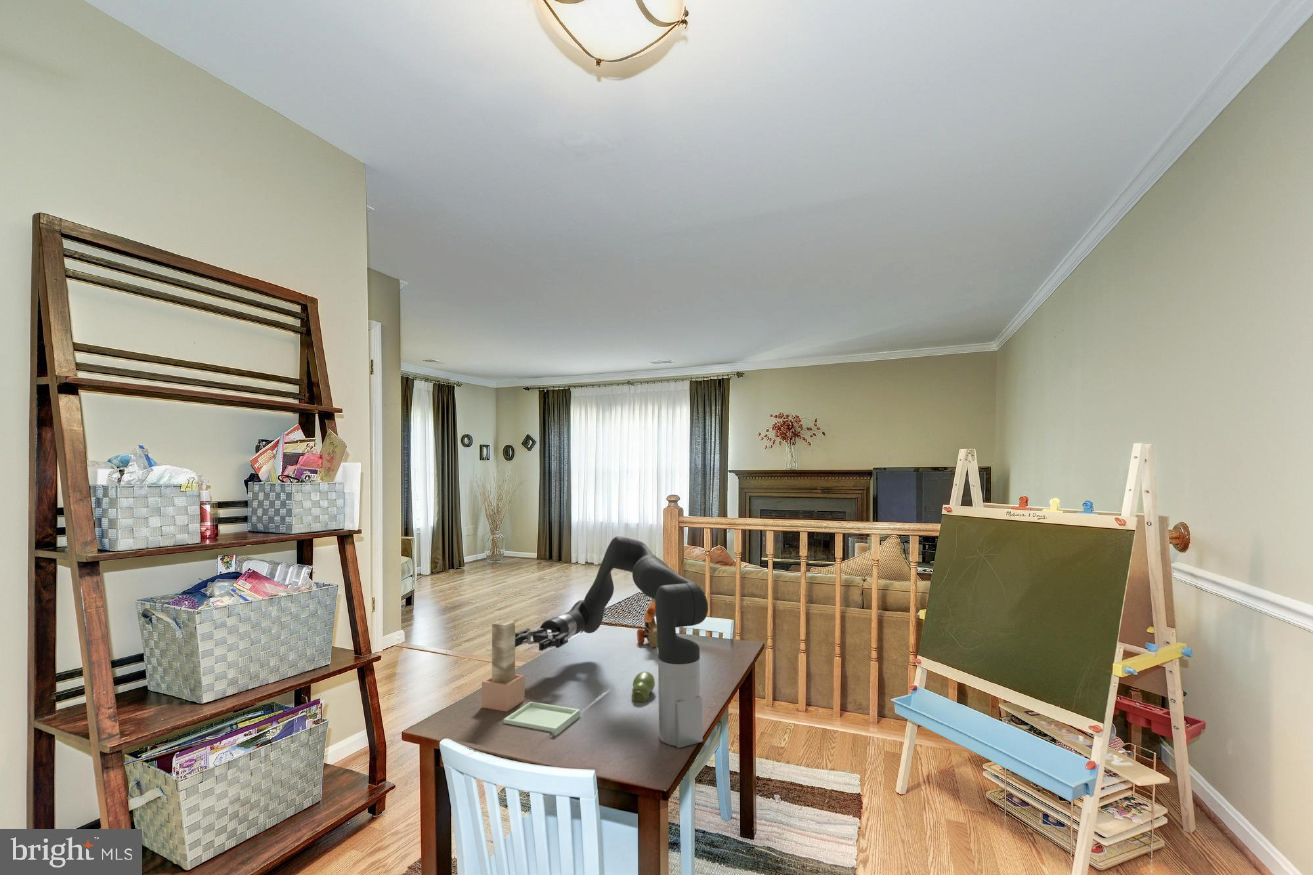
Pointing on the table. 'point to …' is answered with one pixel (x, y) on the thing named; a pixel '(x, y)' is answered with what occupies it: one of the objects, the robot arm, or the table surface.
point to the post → (503, 651)
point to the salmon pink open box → (503, 693)
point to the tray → (543, 717)
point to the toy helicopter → (649, 627)
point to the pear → (642, 686)
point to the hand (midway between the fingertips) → (526, 645)
